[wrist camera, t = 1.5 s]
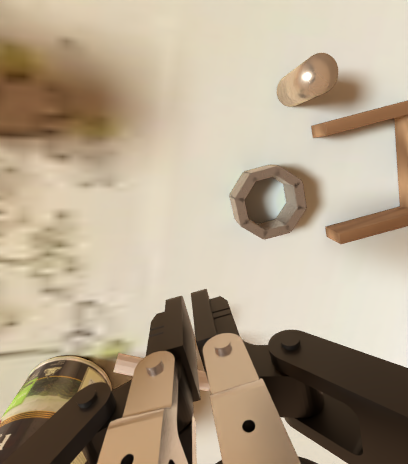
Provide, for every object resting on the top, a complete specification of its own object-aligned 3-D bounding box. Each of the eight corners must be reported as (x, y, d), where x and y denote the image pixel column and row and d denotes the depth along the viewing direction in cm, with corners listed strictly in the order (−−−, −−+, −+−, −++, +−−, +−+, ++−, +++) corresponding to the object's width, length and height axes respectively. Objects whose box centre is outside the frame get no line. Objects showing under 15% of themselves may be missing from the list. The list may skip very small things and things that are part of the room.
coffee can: (8, 400, 35) (-99, 556, 21) (55, 340, 33) (-28, 466, 20) (82, 436, 37) (28, 598, 24) (129, 381, 36) (100, 520, 22)
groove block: (311, 125, 30) (325, 122, 27) (404, 101, 30) (428, 95, 27) (326, 236, 33) (341, 244, 30) (410, 213, 33) (432, 219, 30)
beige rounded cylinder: (274, 78, 28) (299, 58, 23) (303, 70, 28) (335, 48, 23) (279, 109, 29) (305, 98, 23) (307, 102, 29) (340, 89, 23)
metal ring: (225, 176, 30) (230, 178, 27) (287, 159, 30) (299, 160, 28) (238, 236, 32) (244, 244, 29) (297, 221, 32) (309, 227, 29)
